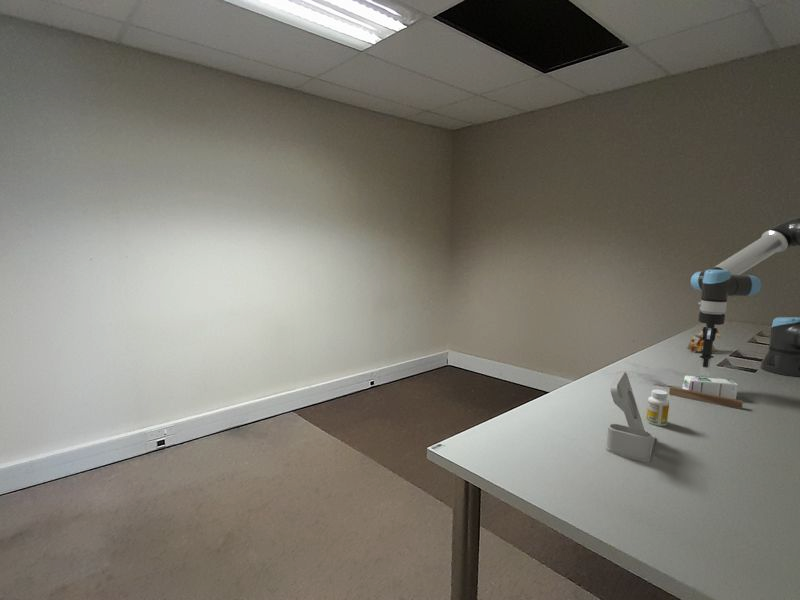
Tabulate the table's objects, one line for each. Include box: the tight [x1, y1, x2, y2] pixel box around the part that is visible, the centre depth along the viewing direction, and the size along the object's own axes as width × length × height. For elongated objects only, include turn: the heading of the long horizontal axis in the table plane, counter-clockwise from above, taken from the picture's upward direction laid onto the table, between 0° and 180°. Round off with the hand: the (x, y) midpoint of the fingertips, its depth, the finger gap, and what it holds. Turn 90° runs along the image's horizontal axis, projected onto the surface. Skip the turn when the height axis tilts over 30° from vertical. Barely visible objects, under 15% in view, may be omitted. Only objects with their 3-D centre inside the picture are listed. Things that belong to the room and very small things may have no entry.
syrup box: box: [682, 375, 739, 399], centre depth 145 cm, size 6×6×14 cm
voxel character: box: [686, 325, 722, 354], centre depth 201 cm, size 11×10×15 cm
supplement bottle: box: [645, 389, 670, 427], centre depth 123 cm, size 5×5×10 cm
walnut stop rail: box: [668, 386, 744, 410], centre depth 140 cm, size 2×20×2 cm, turn 50°
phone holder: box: [605, 371, 656, 463], centre depth 109 cm, size 17×10×18 cm, turn 143°
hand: (704, 374), depth 151 cm, fingers closed
